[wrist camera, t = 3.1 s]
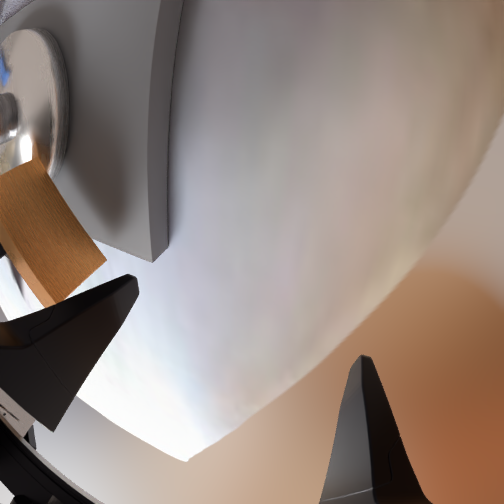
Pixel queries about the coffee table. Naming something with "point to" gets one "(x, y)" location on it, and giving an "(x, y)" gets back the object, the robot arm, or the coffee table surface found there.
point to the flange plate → (35, 99)
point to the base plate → (114, 113)
